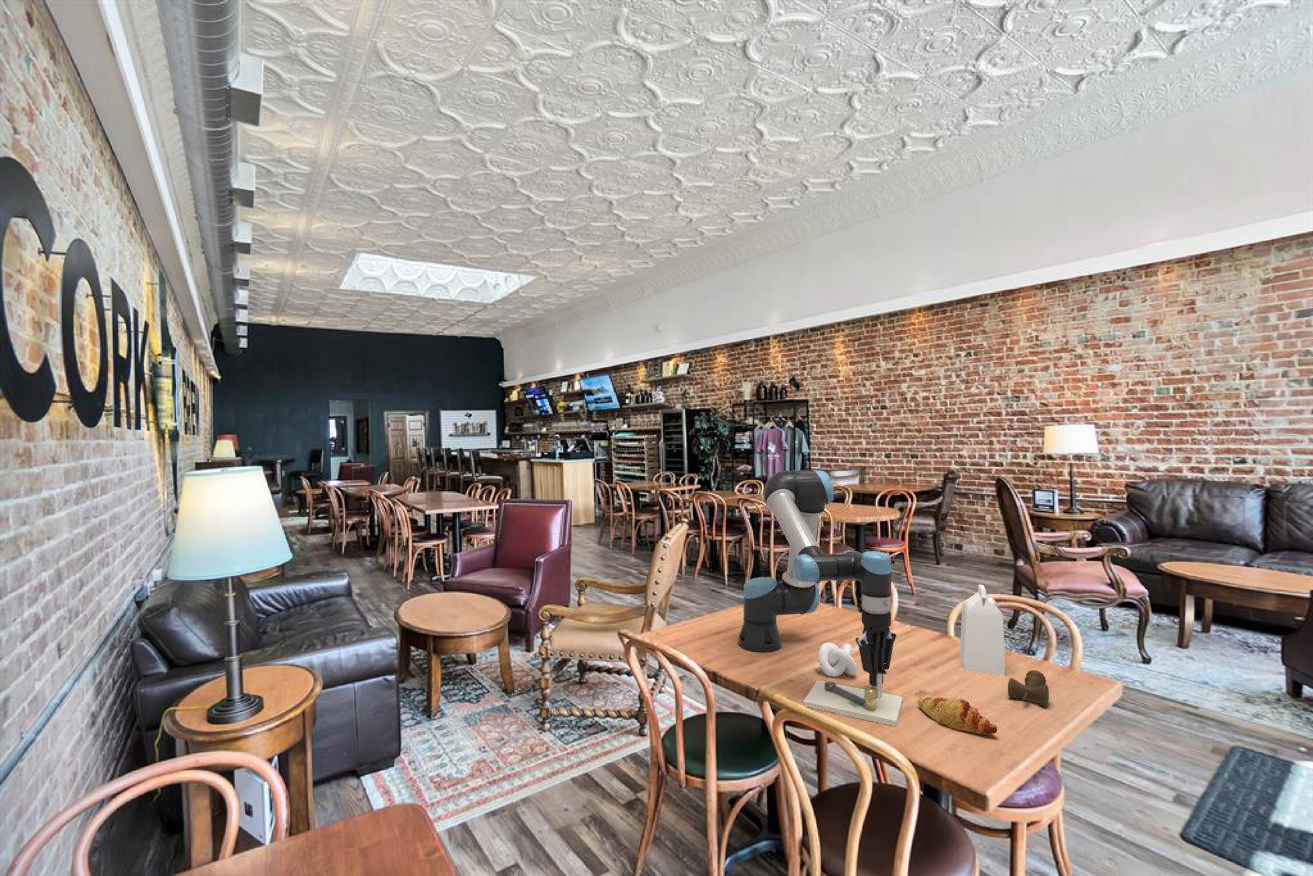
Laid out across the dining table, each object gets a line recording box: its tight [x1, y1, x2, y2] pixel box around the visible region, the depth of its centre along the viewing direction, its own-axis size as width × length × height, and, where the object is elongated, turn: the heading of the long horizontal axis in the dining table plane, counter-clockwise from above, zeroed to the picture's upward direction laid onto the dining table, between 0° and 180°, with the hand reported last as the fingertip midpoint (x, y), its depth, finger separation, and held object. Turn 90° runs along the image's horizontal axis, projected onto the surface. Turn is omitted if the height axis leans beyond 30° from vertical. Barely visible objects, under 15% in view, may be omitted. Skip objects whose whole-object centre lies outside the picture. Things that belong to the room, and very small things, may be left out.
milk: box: [959, 584, 1006, 677], centre depth 194 cm, size 12×12×26 cm
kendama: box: [1007, 669, 1050, 708], centre depth 171 cm, size 6×10×20 cm
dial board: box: [803, 680, 904, 727], centre depth 167 cm, size 24×16×2 cm, turn 62°
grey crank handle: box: [824, 681, 876, 710], centre depth 167 cm, size 17×3×5 cm, turn 32°
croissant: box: [917, 696, 998, 736], centre depth 156 cm, size 21×10×8 cm, turn 35°
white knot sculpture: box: [817, 642, 858, 678], centre depth 189 cm, size 11×12×9 cm
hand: (876, 696), depth 162 cm, fingers closed
